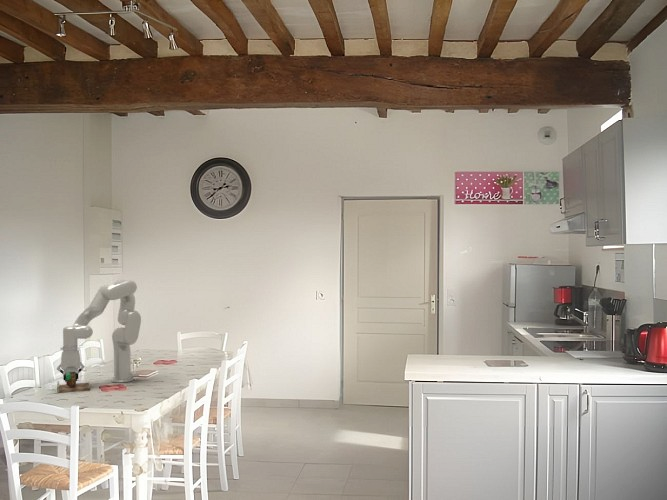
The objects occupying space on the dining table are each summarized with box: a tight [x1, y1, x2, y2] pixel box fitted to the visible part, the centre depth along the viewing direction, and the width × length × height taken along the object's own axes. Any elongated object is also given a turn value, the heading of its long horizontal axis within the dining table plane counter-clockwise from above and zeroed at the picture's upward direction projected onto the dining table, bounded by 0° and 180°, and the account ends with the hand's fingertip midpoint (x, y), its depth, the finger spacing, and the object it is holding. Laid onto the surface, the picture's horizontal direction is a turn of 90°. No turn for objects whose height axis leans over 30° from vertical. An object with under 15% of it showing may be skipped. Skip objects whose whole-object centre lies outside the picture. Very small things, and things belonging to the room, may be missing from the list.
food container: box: [63, 368, 77, 386], centre depth 393 cm, size 12×6×10 cm, turn 19°
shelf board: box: [56, 381, 91, 394], centre depth 393 cm, size 17×16×4 cm
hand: (71, 380), depth 393 cm, fingers closed on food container, 5 cm apart
